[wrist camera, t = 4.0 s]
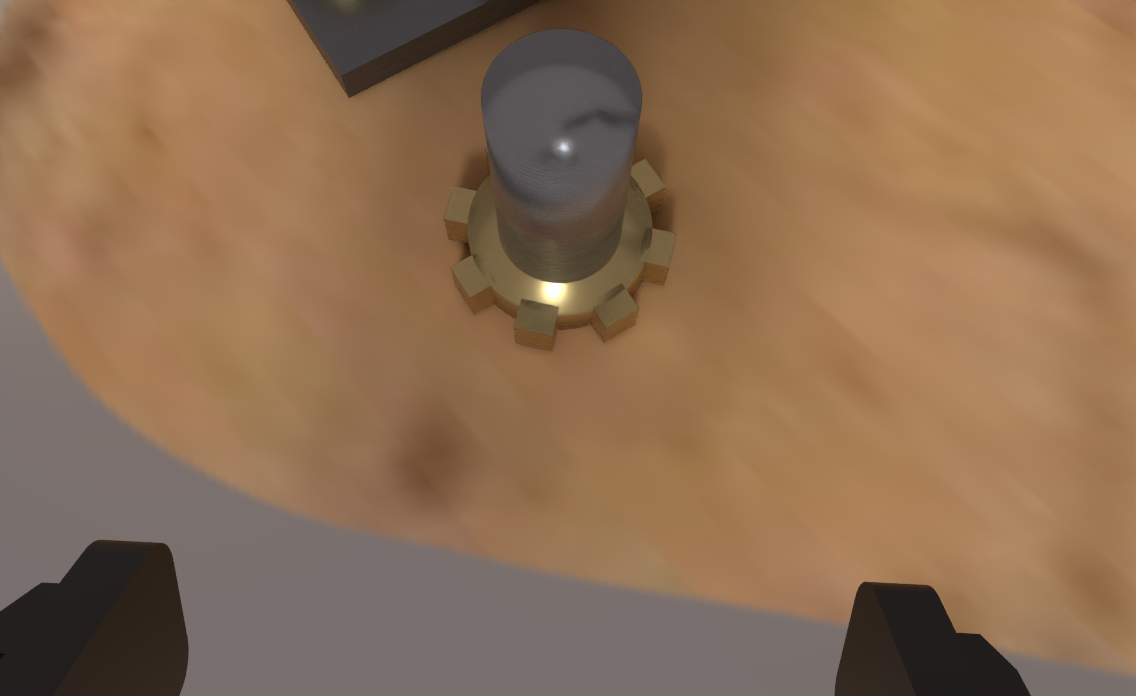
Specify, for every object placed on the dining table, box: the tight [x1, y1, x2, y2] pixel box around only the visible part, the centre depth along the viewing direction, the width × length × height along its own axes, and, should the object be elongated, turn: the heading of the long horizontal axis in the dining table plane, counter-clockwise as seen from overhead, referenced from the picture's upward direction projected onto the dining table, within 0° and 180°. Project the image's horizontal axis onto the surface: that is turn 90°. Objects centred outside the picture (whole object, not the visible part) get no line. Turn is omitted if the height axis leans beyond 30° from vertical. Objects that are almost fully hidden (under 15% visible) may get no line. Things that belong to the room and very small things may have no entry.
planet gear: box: [444, 29, 676, 351], centre depth 25 cm, size 7×7×8 cm
